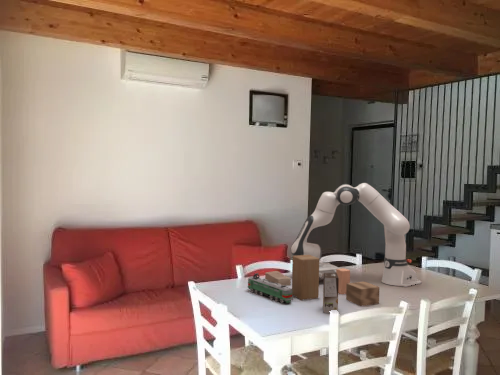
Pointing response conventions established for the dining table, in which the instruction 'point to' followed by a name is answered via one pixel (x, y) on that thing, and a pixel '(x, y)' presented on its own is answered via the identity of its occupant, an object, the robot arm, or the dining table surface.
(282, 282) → the brick
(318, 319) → the dining table surface
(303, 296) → the wooden block
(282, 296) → the toy train
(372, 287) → the tower base
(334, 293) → the coffee box
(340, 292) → the terracotta block
